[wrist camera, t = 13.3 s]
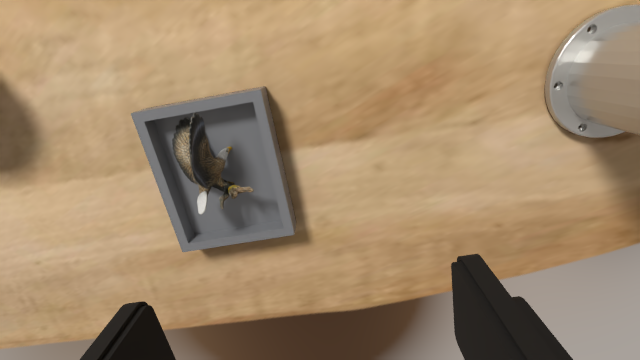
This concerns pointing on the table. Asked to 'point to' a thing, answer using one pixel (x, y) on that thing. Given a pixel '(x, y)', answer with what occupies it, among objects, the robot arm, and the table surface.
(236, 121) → the tray
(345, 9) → the table surface
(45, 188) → the table surface
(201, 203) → the eagle figurine
